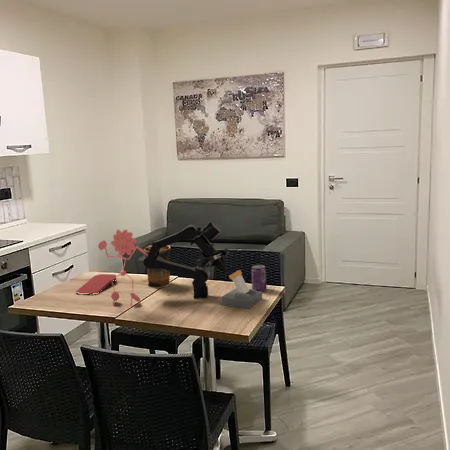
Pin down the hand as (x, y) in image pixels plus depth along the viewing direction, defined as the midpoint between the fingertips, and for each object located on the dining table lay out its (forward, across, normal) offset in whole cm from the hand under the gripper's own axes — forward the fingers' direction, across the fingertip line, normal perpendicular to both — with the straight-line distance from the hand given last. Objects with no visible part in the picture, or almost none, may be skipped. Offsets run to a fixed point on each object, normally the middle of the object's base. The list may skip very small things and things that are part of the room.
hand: (226, 271), depth 224 cm
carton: (-40, +9, -63) cm, 75 cm away
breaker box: (+15, 0, -4) cm, 15 cm away
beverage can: (+15, -19, -4) cm, 24 cm away
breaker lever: (+14, 0, 0) cm, 14 cm away
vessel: (-22, -8, -43) cm, 48 cm away
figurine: (-19, +21, -40) cm, 49 cm away
